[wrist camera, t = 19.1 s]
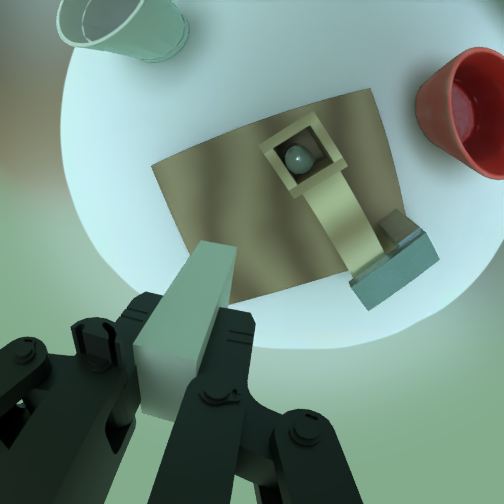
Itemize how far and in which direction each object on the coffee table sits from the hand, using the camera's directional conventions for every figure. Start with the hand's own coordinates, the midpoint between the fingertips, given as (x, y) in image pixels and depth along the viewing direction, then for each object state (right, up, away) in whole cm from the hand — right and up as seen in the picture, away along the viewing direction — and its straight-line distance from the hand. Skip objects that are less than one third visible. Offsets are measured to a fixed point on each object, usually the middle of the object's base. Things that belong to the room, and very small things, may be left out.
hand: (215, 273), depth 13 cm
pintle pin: (+6, +10, +15) cm, 19 cm away
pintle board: (+5, +6, +17) cm, 19 cm away
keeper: (+14, +2, +17) cm, 22 cm away
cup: (-8, +23, +11) cm, 27 cm away
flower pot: (+21, +15, +12) cm, 29 cm away
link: (+9, +6, +15) cm, 19 cm away
